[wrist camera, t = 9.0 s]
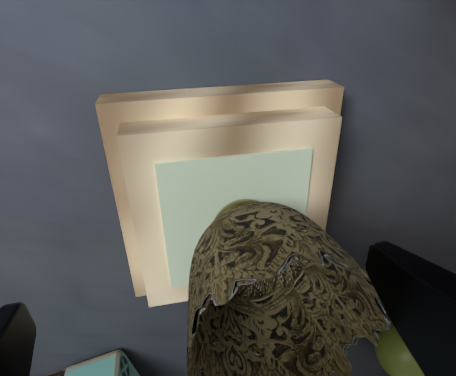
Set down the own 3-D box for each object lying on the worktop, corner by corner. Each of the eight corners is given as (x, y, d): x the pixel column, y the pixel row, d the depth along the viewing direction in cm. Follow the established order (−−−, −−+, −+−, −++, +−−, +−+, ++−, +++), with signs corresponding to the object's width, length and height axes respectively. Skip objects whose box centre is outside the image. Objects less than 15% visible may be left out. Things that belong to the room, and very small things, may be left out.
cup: (256, 287, 21) (306, 423, 15) (149, 249, 18) (148, 398, 12) (330, 195, 19) (431, 305, 12) (221, 135, 16) (274, 235, 9)
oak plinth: (327, 79, 20) (366, 96, 17) (307, 250, 27) (331, 290, 23) (100, 94, 18) (87, 117, 15) (137, 276, 24) (134, 323, 21)
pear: (406, 372, 28) (499, 317, 30) (361, 324, 32) (445, 278, 34) (405, 407, 30) (489, 354, 32) (364, 358, 35) (440, 314, 37)
